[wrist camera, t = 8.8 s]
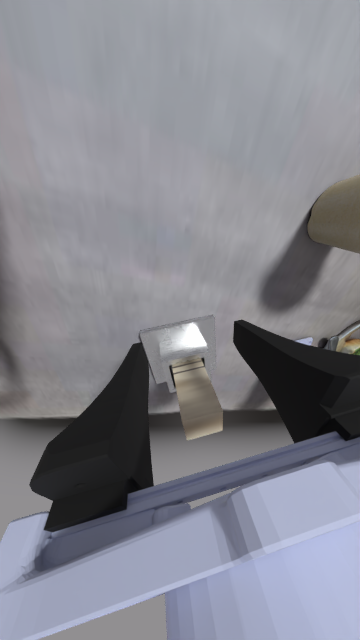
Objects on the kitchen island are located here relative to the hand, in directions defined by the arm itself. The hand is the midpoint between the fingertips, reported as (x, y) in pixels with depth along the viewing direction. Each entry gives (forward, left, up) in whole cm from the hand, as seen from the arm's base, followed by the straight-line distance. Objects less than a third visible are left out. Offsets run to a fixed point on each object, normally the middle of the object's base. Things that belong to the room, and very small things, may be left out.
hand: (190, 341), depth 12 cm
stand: (-10, 0, -10) cm, 14 cm away
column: (-10, 0, -7) cm, 12 cm away
